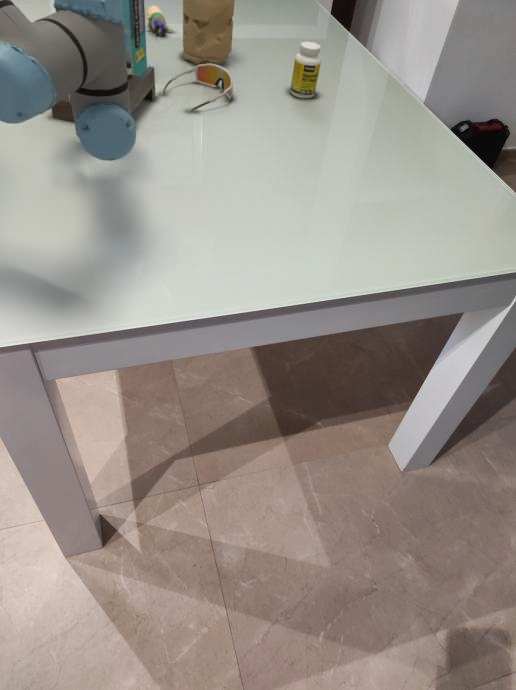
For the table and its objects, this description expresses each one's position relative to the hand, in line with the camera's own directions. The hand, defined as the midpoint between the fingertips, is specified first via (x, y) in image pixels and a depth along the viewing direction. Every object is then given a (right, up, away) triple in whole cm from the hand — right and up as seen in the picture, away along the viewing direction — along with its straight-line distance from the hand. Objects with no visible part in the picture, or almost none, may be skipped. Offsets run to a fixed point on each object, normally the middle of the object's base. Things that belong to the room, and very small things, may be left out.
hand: (76, 33), depth 90 cm
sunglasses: (+18, +3, +30) cm, 35 cm away
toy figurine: (+3, +35, +56) cm, 67 cm away
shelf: (-1, -3, +21) cm, 22 cm away
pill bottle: (+43, +7, +37) cm, 57 cm away
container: (+18, +21, +46) cm, 54 cm away
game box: (-5, +13, +35) cm, 38 cm away
